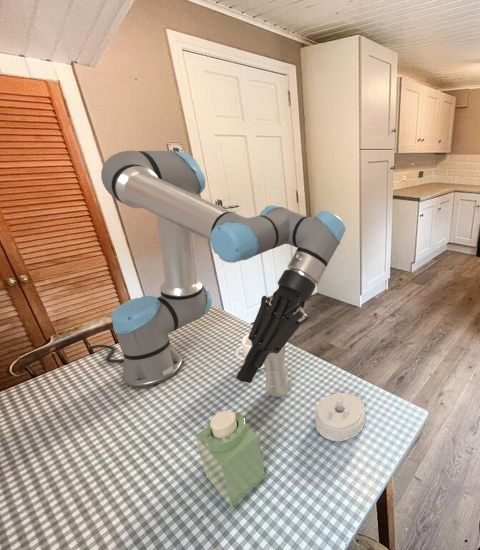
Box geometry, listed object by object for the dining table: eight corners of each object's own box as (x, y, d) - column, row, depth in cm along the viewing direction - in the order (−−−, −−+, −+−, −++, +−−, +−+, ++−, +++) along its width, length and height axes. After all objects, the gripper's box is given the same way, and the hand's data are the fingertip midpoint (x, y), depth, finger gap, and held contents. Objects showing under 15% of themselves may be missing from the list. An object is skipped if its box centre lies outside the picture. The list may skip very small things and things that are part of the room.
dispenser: (206, 476, 64) (192, 427, 59) (238, 451, 69) (229, 403, 64) (232, 507, 58) (219, 456, 53) (265, 477, 64) (256, 427, 58)
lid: (349, 396, 85) (348, 382, 83) (374, 428, 75) (375, 412, 74) (307, 416, 79) (305, 401, 77) (329, 453, 69) (328, 437, 67)
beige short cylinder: (208, 431, 58) (205, 421, 57) (229, 416, 62) (227, 406, 61) (220, 443, 56) (217, 433, 55) (241, 427, 59) (239, 417, 58)
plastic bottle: (284, 402, 83) (276, 340, 76) (262, 398, 84) (252, 337, 77) (294, 386, 89) (288, 327, 81) (273, 382, 90) (265, 324, 83)
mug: (238, 378, 92) (233, 353, 88) (237, 358, 101) (233, 335, 97) (278, 368, 96) (275, 343, 93) (274, 350, 105) (271, 327, 102)
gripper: (271, 262, 66) (210, 363, 60) (312, 275, 59) (248, 392, 53) (292, 277, 72) (238, 371, 66) (332, 291, 65) (276, 398, 59)
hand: (243, 380), depth 59 cm, fingers closed
